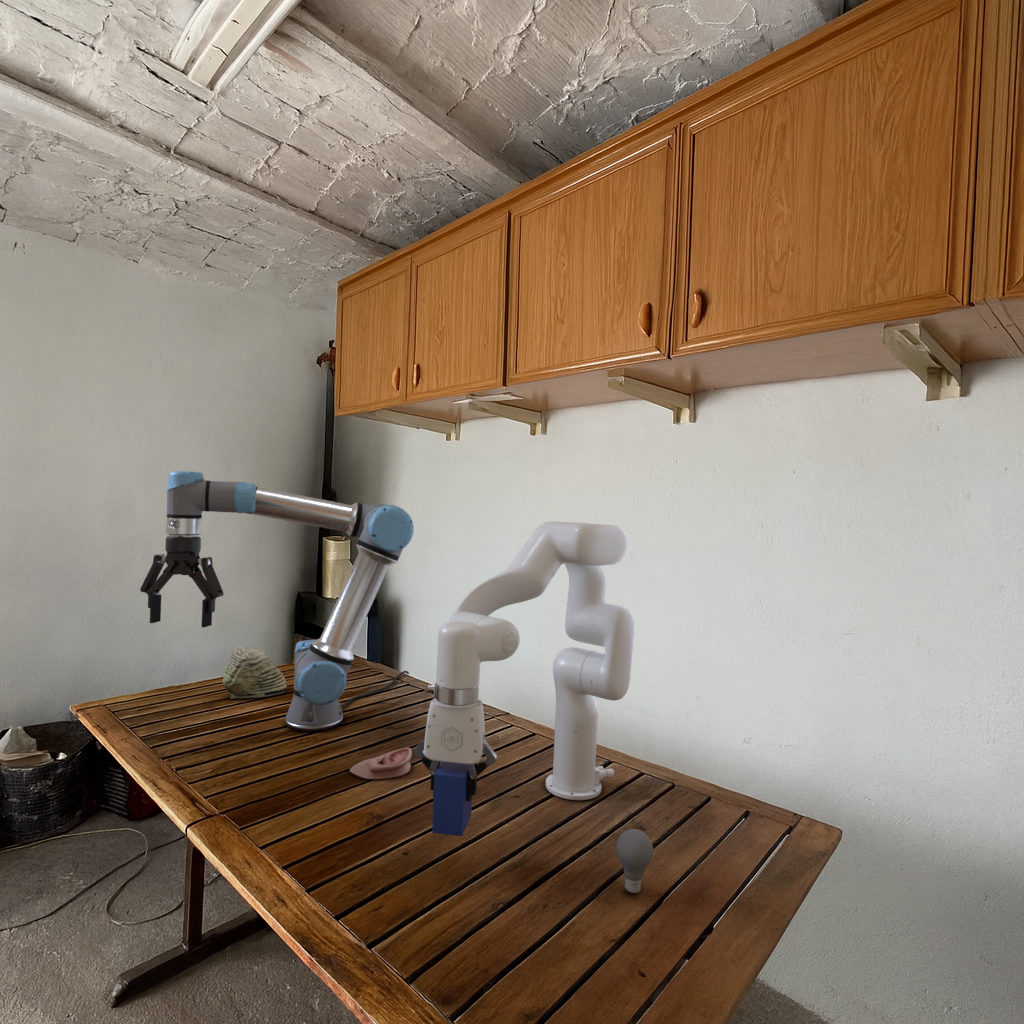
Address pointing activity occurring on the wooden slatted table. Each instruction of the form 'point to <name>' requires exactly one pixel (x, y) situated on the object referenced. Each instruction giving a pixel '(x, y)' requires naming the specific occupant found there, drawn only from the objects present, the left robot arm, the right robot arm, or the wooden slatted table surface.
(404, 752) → the anatomical model
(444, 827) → the brick
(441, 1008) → the wooden slatted table surface
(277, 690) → the fossil
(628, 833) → the light bulb
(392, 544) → the left robot arm
